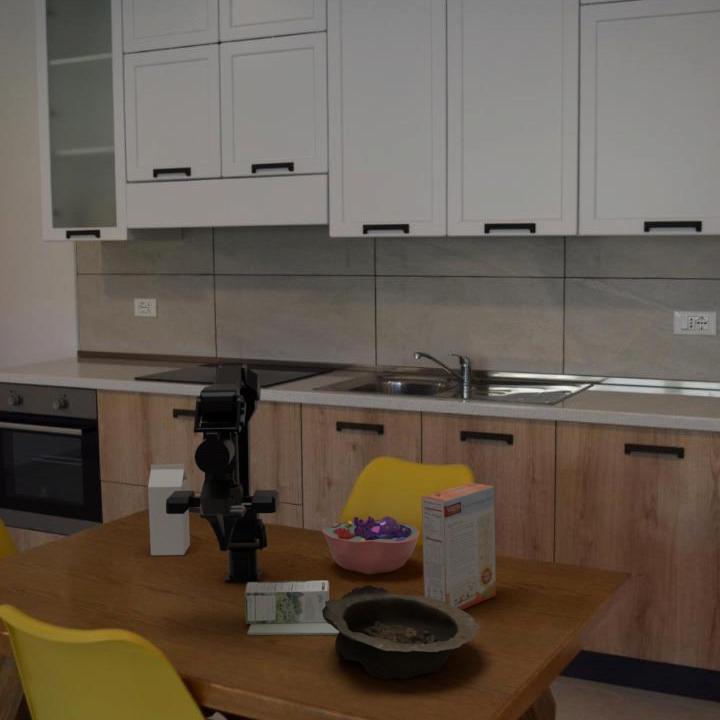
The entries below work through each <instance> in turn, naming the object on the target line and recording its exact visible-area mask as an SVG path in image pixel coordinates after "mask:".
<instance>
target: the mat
mask: <svg viewBox="0 0 720 720" xmlns="http://www.w3.org/2000/svg"><path fill="white" fill-rule="evenodd" d="M338 633H339V631H338V630H336V629H335V628H334V627H333V626H332V625H330V624H328V623H327V622H321V623H267V624H250V626H249V629H248V631H247V635H248V636H254V635H255V636H257V635H258V636H263V635H264V636H265V635H266V636H269V635H270V636H285V635H286V636H337V635H338Z"/></svg>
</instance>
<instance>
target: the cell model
mask: <svg viewBox="0 0 720 720" xmlns="http://www.w3.org/2000/svg"><path fill="white" fill-rule="evenodd" d="M367 517H368V518H367V519H364V518H361V519H359V517H358V516H353V520H345V521H339V522H338V521H337V522H335V523H333V524H330V525H328V526H325V527H323V529H321V530H322V531H321V532H322V533H323V535H324V538H325V541H326V542H327V544H328V545H327V546H328V547H329V549H330V552H331V553H330V554H331V555H332V557H333V560H334V561H335V563H336V564H337V565H338V566H339V567H341V568H343V569H344V570H348V571H352V572H356V573H360V574H364V575H375V574H389V573H392V572H393V571H397V570H398V569H400V568H402V567H403V566H404V565H405V564H406V563H407V562H408V560H409V558H410V557H411V555H413V553H414V550H415V547H416V544H417V543H418V540H419V537H420V534H421V531H420V530H419V529H418V528H417V527H416V526H415V525H414V524H412V523H409V522H408V523H407V522H401V521H397V520H396V519H395V518H393V517H391V516H389V515H385V516H383V517H382V518H381V519H380V518H374V517H372V516H370V515H369V516H367Z"/></svg>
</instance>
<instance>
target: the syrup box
mask: <svg viewBox="0 0 720 720" xmlns="http://www.w3.org/2000/svg"><path fill="white" fill-rule="evenodd" d="M244 599H245V600H244V604H245V606H244V607H245V609H244V611H245V623H246V624H247V625H251V624H267V623H321V622H326V621H325V619H324V617H323V613H322V609H323V610H324V607H325V606H326V604H325V601H328V600H330V581H329V580H295V581H294V580H293V581H291V580H289V581H288V580H287V581H257V582H246V587H245V593H244ZM330 601H331V600H330Z"/></svg>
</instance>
